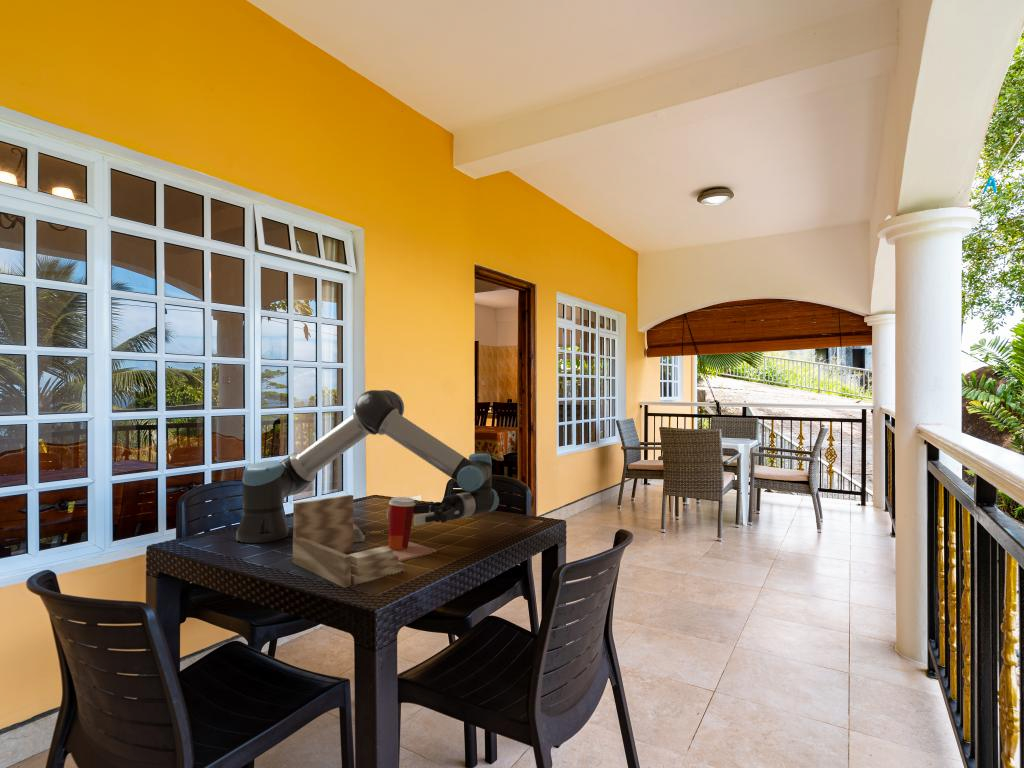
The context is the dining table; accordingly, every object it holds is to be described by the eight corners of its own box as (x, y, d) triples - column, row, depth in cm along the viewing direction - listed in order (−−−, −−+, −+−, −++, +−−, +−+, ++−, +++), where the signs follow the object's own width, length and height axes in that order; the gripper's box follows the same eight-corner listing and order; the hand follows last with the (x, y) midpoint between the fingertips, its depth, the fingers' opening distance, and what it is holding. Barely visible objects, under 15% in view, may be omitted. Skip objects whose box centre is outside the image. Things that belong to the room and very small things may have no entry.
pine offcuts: (392, 567, 142) (392, 544, 142) (404, 571, 138) (404, 548, 138) (343, 580, 132) (343, 555, 132) (355, 585, 128) (355, 560, 128)
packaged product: (366, 526, 168) (332, 530, 164) (366, 542, 168) (332, 546, 164) (357, 515, 184) (326, 518, 180) (356, 529, 184) (326, 532, 180)
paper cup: (405, 542, 163) (410, 496, 163) (415, 549, 157) (420, 501, 157) (380, 544, 159) (385, 496, 159) (389, 551, 152) (394, 502, 153)
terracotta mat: (407, 543, 165) (407, 541, 165) (436, 552, 156) (436, 550, 156) (367, 552, 155) (367, 550, 155) (395, 562, 146) (395, 560, 146)
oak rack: (350, 549, 158) (350, 494, 158) (405, 570, 139) (405, 508, 139) (292, 562, 146) (293, 503, 146) (344, 587, 127) (344, 519, 127)
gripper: (484, 524, 161) (427, 538, 146) (433, 512, 179) (376, 523, 163) (484, 499, 161) (427, 510, 146) (433, 489, 179) (376, 498, 164)
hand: (400, 517), depth 155 cm, fingers open, 13 cm apart
